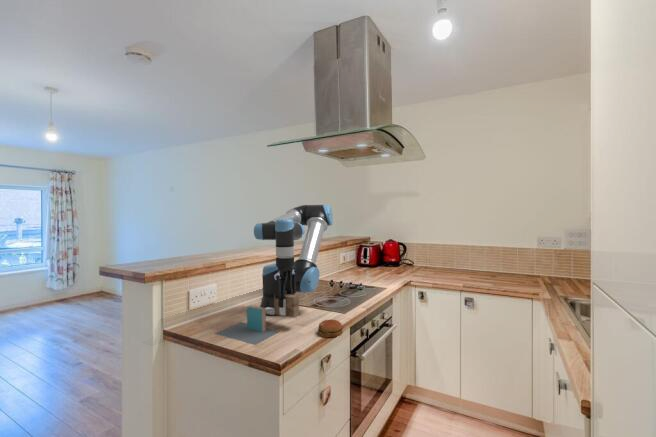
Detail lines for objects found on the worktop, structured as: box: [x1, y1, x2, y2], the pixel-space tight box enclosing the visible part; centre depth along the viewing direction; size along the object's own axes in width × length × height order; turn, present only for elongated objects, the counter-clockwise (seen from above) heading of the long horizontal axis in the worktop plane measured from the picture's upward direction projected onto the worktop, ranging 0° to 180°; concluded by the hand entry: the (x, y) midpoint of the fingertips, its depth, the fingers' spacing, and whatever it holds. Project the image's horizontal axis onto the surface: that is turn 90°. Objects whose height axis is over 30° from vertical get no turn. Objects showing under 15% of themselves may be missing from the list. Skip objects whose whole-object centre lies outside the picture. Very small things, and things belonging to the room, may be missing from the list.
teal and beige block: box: [246, 304, 267, 332], centre depth 125 cm, size 2×8×9 cm, turn 60°
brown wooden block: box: [265, 294, 300, 318], centre depth 129 cm, size 18×6×8 cm, turn 60°
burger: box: [317, 319, 344, 338], centre depth 122 cm, size 10×9×5 cm
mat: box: [214, 321, 281, 345], centre depth 122 cm, size 22×14×1 cm, turn 60°
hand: (285, 313), depth 127 cm, fingers closed on brown wooden block, 3 cm apart
